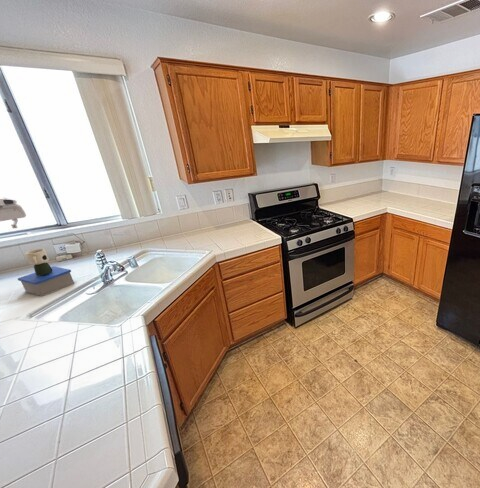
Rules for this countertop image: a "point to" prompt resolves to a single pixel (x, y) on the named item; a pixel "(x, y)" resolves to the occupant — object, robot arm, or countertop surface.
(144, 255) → the countertop surface
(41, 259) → the character mug
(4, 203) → the robot arm
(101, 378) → the countertop surface
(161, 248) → the countertop surface
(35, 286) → the storage tub
